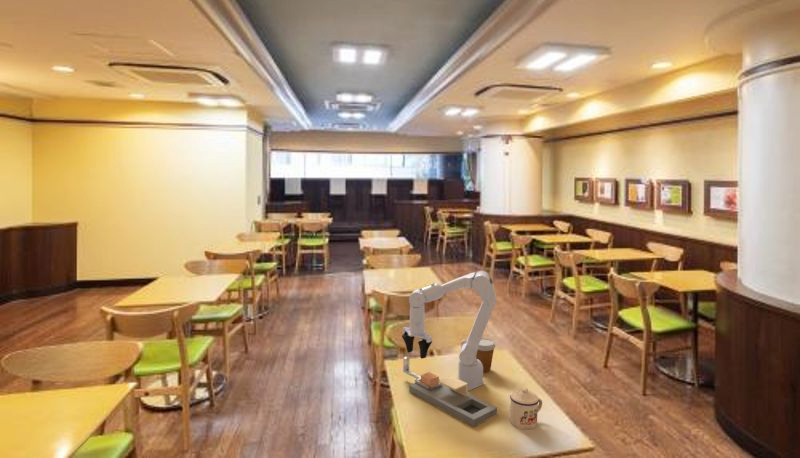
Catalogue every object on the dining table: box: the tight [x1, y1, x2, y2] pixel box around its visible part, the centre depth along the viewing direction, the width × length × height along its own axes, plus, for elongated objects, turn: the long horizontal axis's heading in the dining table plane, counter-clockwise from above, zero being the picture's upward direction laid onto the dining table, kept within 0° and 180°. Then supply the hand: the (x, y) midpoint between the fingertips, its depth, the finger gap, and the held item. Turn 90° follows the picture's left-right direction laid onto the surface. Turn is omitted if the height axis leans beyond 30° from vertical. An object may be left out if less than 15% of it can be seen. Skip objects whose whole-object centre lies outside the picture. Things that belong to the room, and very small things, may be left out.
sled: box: [402, 356, 442, 390], centre depth 180 cm, size 18×6×6 cm, turn 41°
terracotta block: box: [420, 371, 440, 386], centre depth 176 cm, size 5×4×4 cm
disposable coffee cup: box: [476, 337, 496, 374], centre depth 195 cm, size 10×10×12 cm
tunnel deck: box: [408, 375, 498, 428], centre depth 168 cm, size 31×12×7 cm, turn 41°
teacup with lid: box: [509, 387, 543, 430], centre depth 156 cm, size 12×9×12 cm
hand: (416, 354), depth 185 cm, fingers open, 7 cm apart
